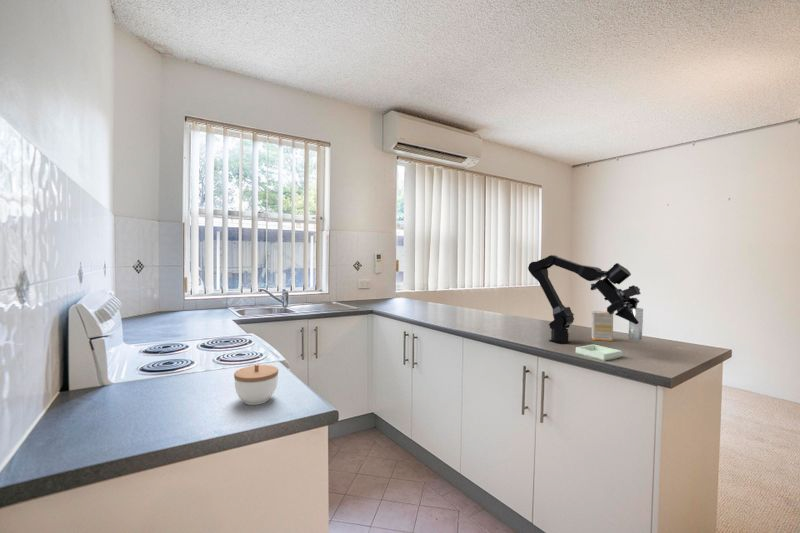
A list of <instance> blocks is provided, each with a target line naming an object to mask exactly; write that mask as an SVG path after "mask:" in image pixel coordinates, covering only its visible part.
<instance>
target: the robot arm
mask: <svg viewBox="0 0 800 533" xmlns="http://www.w3.org/2000/svg"><path fill="white" fill-rule="evenodd" d="M553 266H555V267H559V268H561V269H564V270H566V271H567V270H568V271H570V272H572V273H575V274H577V275H578V276H579V277H580V278H582V279H584V280H585V281H588V282H595V283H591V284H590V285H591V286H590V291H596V290H598V292H599V293H601V295H602V296H603V297H604V298H603V299H604V300H605V301H608V302H609V303H610V305H608V306H607V307H606V312H608V313H609V314H610V315H611V314H613V315H615V316H617V317H620V318H622V319H624V320H626V321H628V322H629V321H630V322H632V323H634V324H638V323H639V322H638V321H637V319H636V318H635V316H634V315H633V314H632V312H631V311H630V308H638V303H640V299H638V298H637V297H633V296H636V295H637V296H639V295H641V292H640V290H641V289H640V288H639V286H635V284H634V285H633V284H632V285H631V286H628V288H626V289H624V290H623V289H621V288H617V286H615V285H620V284H622V282H624V281H626V280H628V278H629V277H630V276H631V275H632V273H631V272H630V271H629V269H627V268H626V267H625V266H622V265H621V264H620V263H619V262H618V263H615V264H614V265H613V266H612V267H610V269H608V270H602V268H600V267H598V266H593V265H592V266H591V265H584V264H579V263H577V262H574V261H571V260H568V259H566V258H562V257H559V256H558V255H555V254H553V255H552V254H551V255H548V256H546V257H544V258H542V259H539V260H536V261H532V262H531V261H530V263H529V265H528V267H527V269H528V271H529V273H530V275H531V276H532V277H533V278H534V279H536V280H537V282H538V283H539V285H540V287H541V289H542V291H543V293H544V294H545V297H546V299H547V300H548V303H549V304H550V306H551V308H552V316H553V320H552V321H550V323H549V324H548V326H549V328H550V331H551V334H550V335H551V336H550V337H551V338H550V339H548V342H552V343H556V344H559V345H562V344H568V343H571V341H570V340H569V337H570V336H569V334H570V333H569V328H570V327H571V325H572V324H573V323H574V320H575V317H574V316H575V314H574V313H573V312H572V309H571V307H570V306H567V307H566V306H565V305H564V304H563V303H562V301H561V299H560V297H559V295H558V293H557V291H556V290H555V287H554V285H553V284H552V281H551V280H550V278H549V270H548V269H550V268H552V267H553ZM602 278H603V279H602ZM615 312H616V313H615Z"/></svg>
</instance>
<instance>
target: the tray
mask: <svg viewBox="0 0 800 533" xmlns="http://www.w3.org/2000/svg"><path fill="white" fill-rule="evenodd" d="M575 354H576V355H579V356H583V357H587V358H590V359H594V360H598V361H601V362H607V360H608V361H612V360H616V359H621V358H623V350H620V349H615V348H611V347H607V346H603V345H598V344H587V345H583V346H581V345H580V346H576V347H575Z"/></svg>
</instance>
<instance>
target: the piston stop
mask: <svg viewBox="0 0 800 533" xmlns="http://www.w3.org/2000/svg"><path fill="white" fill-rule="evenodd" d="M630 311H631V312H632V314H633V315H634V316H635V318H636V319H637V321H638V322H639V323H638V324H634V323H632V322H630V321H628V338H627V339H628V340H632V341H636V342H638V341H643V327H644V326H643V324H644V319H643V318H644V308H640V307H637V308H630Z"/></svg>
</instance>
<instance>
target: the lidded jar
mask: <svg viewBox="0 0 800 533" xmlns="http://www.w3.org/2000/svg"><path fill="white" fill-rule="evenodd" d="M233 376H234V378H233V379H234V387H235V388H234V389H235V393H236V395H237V397H238V398H239V399H240V400H241V401H243V403H244V404H246V405H248V406H257V405H262V404H265V403H267V402H268V401H269V400H270V398H271V397H272V396H273V395H274V394H275V391H276V389H277V385H278V379H279V377H278V376H279V368H278V367H277V366H274V365H269V364H257V363H255V364H254V365H250V366H245V367H241V368H240V369H237V370H236V371H235V372H234V373H233Z"/></svg>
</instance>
